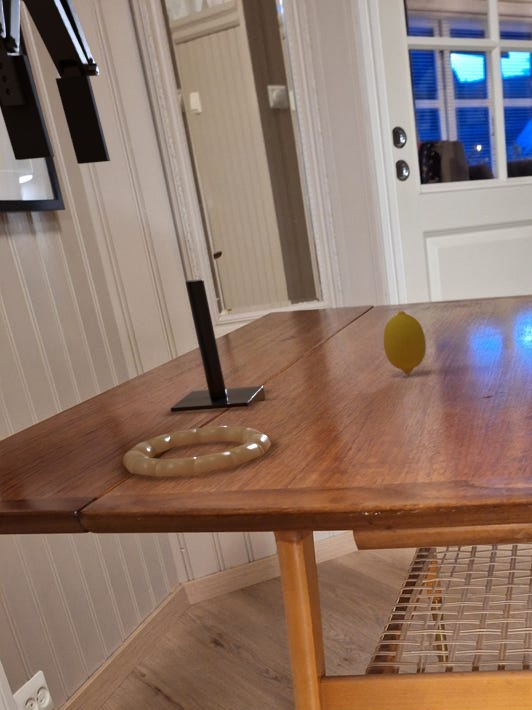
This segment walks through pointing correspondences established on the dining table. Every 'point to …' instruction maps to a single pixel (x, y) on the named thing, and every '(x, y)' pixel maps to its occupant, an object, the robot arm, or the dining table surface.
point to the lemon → (404, 342)
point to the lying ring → (144, 464)
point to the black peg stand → (212, 363)
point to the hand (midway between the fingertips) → (67, 161)
